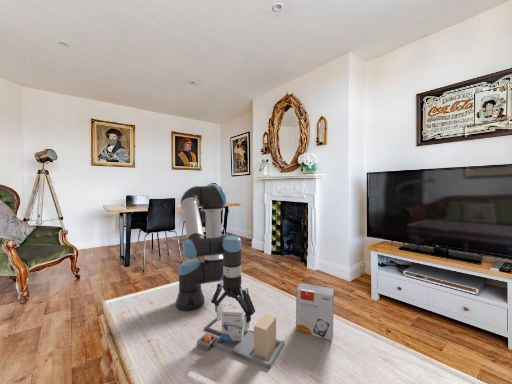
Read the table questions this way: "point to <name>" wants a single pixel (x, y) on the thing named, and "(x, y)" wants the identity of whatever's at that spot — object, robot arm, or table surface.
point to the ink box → (232, 323)
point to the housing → (205, 345)
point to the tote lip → (212, 329)
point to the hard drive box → (315, 310)
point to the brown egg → (207, 338)
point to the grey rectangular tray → (247, 349)
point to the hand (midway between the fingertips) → (232, 324)
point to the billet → (265, 337)
